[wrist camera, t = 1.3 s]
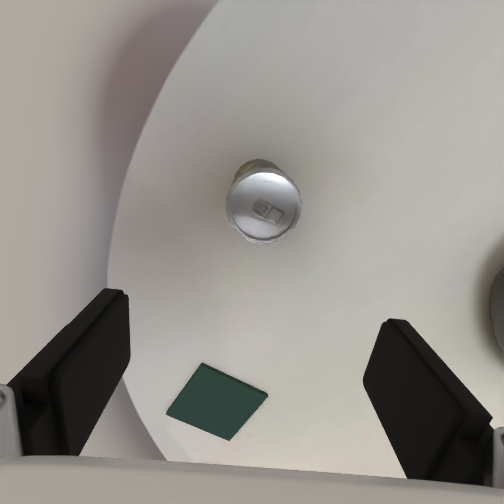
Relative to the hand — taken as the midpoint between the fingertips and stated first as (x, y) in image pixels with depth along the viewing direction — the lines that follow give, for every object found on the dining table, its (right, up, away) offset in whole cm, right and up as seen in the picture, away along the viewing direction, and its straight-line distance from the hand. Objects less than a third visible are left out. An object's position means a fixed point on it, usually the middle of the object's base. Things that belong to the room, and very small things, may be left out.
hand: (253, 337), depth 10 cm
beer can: (+1, +10, +20) cm, 23 cm away
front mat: (-5, -19, +31) cm, 37 cm away
